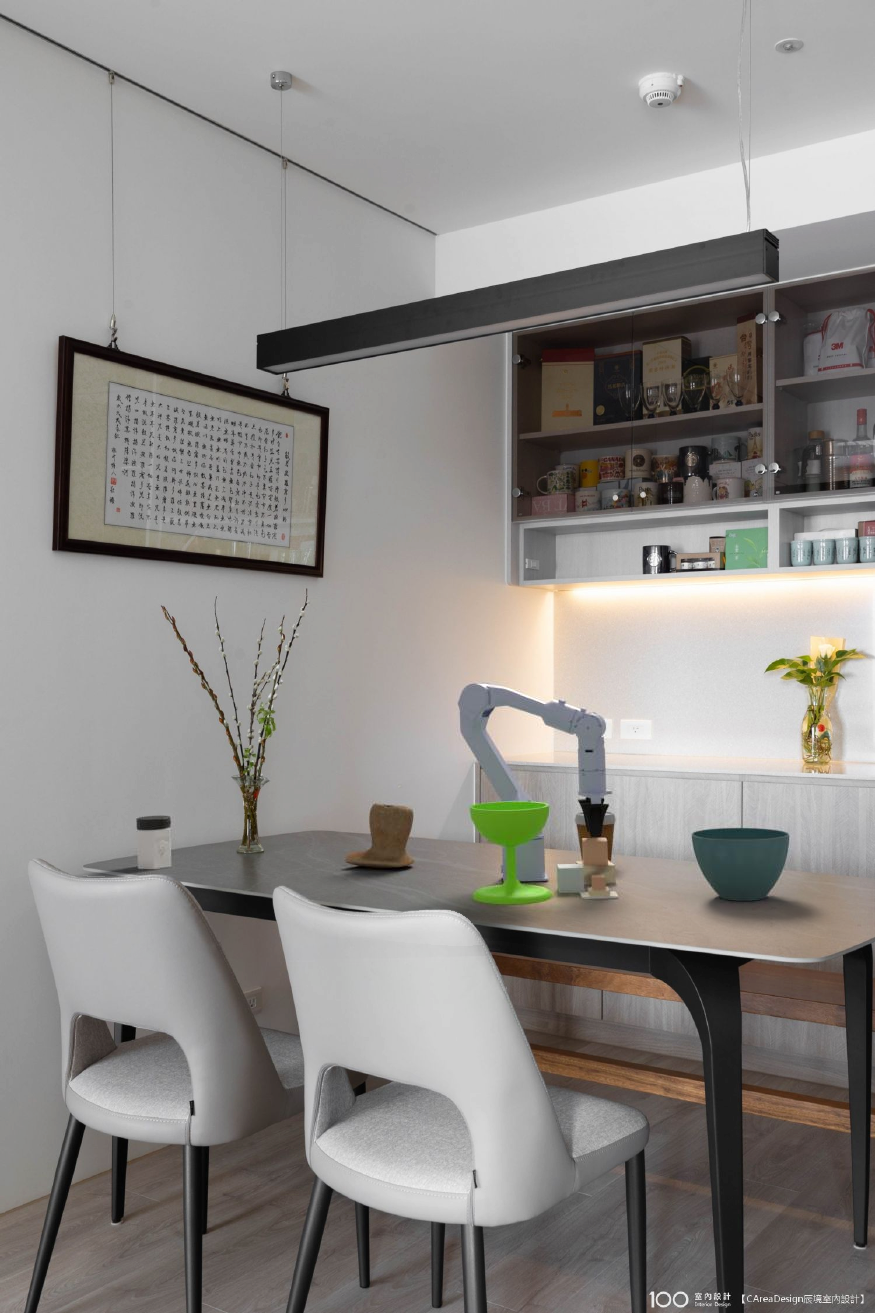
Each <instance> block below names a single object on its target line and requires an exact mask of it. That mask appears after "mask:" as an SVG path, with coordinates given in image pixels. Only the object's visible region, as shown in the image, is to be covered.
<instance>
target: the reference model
mask: <svg viewBox="0 0 875 1313" xmlns="http://www.w3.org/2000/svg"><path fill="white" fill-rule="evenodd" d="M591 879H592V884H591V887H589V886H588V887H587V891H584V892H580V893H579V894H580V897H581V899H582V900H595V899H596V900H599V899H606V900H607V899H619V895H618V894H617V893H618V892H616V891H613V890H612V891H611V890H610V888H609V887H608V886H606V884H607V883H606V880H605V876H604V875H591Z"/></svg>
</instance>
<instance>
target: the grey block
mask: <svg viewBox="0 0 875 1313" xmlns="http://www.w3.org/2000/svg"><path fill="white" fill-rule="evenodd" d="M556 873H557V874H556V877H557V878H556V880H557V890H558V893H559V894H574V893H577V894H578V893H579V894H580V892H585V884H584V870H583V866H582V864H576V863H562V864H561V863H560V864H559V863H557V864H556Z"/></svg>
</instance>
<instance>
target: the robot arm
mask: <svg viewBox="0 0 875 1313" xmlns="http://www.w3.org/2000/svg"><path fill="white" fill-rule="evenodd" d="M457 705H458V709H459V728H460V729H459V731H460V733H461V735H462V737H463V739H464V741H465V742H466V745H468V748H469V749H470V750H471V753H473V756H474V758H475V759H476V760H477V762H478V764H479V765H480V767H481V769H482V771H483V772H484V774H485V776H486V778H487V779H488V781H489V782H490V784H491V785H492V787H493V789H494V791H495V793H496V794H497V796H498V797H499V800H500V802H509V801H526V802H534V801H533V799H532V798H531V796H530V795H528V793H527V792H525V791H524V790H523V789H522V787H521V785H520V784H519V782H518V781H517V779H516V777H515V775H514V774H513V772H512V771H511V768H510V767H509V766H508V764H507V762H506V761H505V759H504V757H503V755H502V754H501V753H500V751H499V749H498V747H497V745H496V744H495V742H494V741H493V739H492V737H491V736H490V734H489V733H488V731H487V725H488V722H489V719H490V716H491V714H492V713H493V711H494V710H495V708H498V707H499V708H500V707H510V708H512V709H515V710H519V711H523V712H526V713H529V714H531V715H535V716H537V717H540V718H541V719H542V721H543V724H544V725H546V726H547V727H551V728H552V729H555V730H558V731H561V732H564V733H567V734H569V735H575V736H576V738H577V739H578V740H577V741H578V745H577V747H578V748H577V761H578V762H577V763H578V767H577V768H578V791H577V794H578V796H581V797H585V798H578V799H577V802H578V803H579V804H578V805H580V808H581V812H583V815H584V819H585V824H586V829H587V832H589V833H590V836H591V837H601V834H602V829H603V822H604V817H605V814H606V812H608V809H609V807H610V806H609V805H610V804H609V803H604V802H605V798H604V796H607V795H612V794H613V790H611V789H607V774H606V773H607V772H606V767H607V766H606V748H605V738H604V737H605V736H604V735H605V733H606V730H607V724H606V721H605V719H604V717H603V716H601V715H600V714H598V713H596V712H595V711H594V712H588V713H587V708H585V707H581V708H578V707H575V706H572V705H570V704H567V701H566V700H564V699H562V698H561V699H558V700H556V699H553V700H551V701H548V702H544V701H542V700H539V699H536V698H534V697H531V696H530V695H526V694H524V693H521V692H519V691H516V690H514V689H512V688H509V687H505V686H502V685H496V684H495V685H494V684H492V683H490V682H481V683H476V682H473V683H470V684H467V685H466V686H465V687H464V688H463V689H462V691H461V694H460V696H459V699H458V702H457ZM515 850H516V877H517V879H518V881H519V882H545V881H546V882H547V881H549V877H548V873H547V872H546V860H545V859H546V858H545V857H546V856H545V855H546V854H545V834H544V833H543V831H542V830H541V832H540V833H539V834H538V835H537V836H536V837H534V838H533V839H532V840H531V841H529V842H527V843H524V844H522V845H519V846H515ZM501 858H502V864H500V871H501V872H500V873H501V874H502V880H503V883H504V882H505V880H506V878H507V865H506V846H501Z"/></svg>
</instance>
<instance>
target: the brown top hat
mask: <svg viewBox="0 0 875 1313" xmlns="http://www.w3.org/2000/svg"><path fill="white" fill-rule="evenodd" d="M369 810H370V811H369V816H368V817H369V820H368V822H369V831H370V836H371V837H370V838H371V846H370V848H369V849H366V850H359V851H354V852H351V853H349V854H348V855H346V856H345V858H344V862H345V863H346V864H349V865H353V866H359V867H367V868H374V869H375V868H378V869H379V868H381V869H389V868H390V869H394V868H402V867H408V866H411V865H413V864H414V863H415V858H413V857H411V856H410V855H409V854H407V851H406V850H407V849H406V847H407V843H408V840H409V838H410V834H411V831H412V828H413V821H414V810H413V809H412V807H410V806H405V805H404V806H403V805H392V804H385V803H381V802H375V803H373V804H372V806H371V807H370V809H369Z"/></svg>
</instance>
